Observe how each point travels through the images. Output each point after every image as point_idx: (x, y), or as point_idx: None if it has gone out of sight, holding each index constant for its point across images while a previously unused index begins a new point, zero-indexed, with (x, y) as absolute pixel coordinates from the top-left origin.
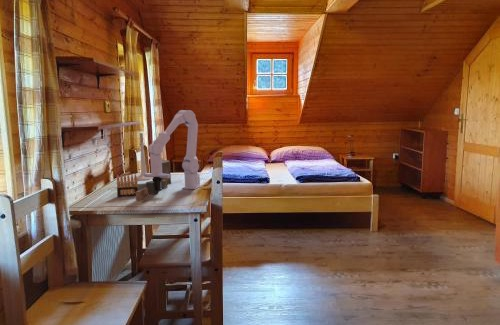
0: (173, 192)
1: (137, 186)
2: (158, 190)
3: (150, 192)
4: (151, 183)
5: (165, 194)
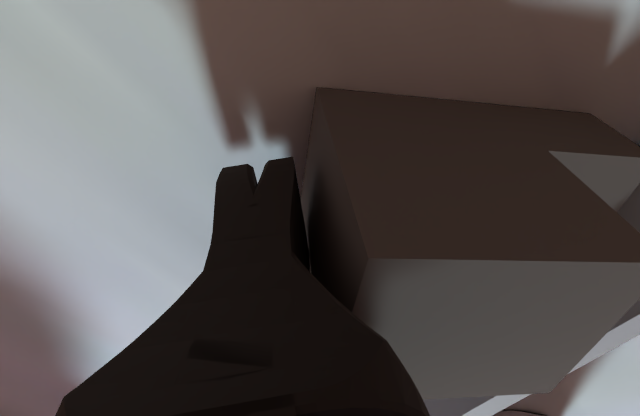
0: (67, 288)
1: None
2: (222, 176)
3: (404, 104)
4: (430, 241)
5: (58, 148)
